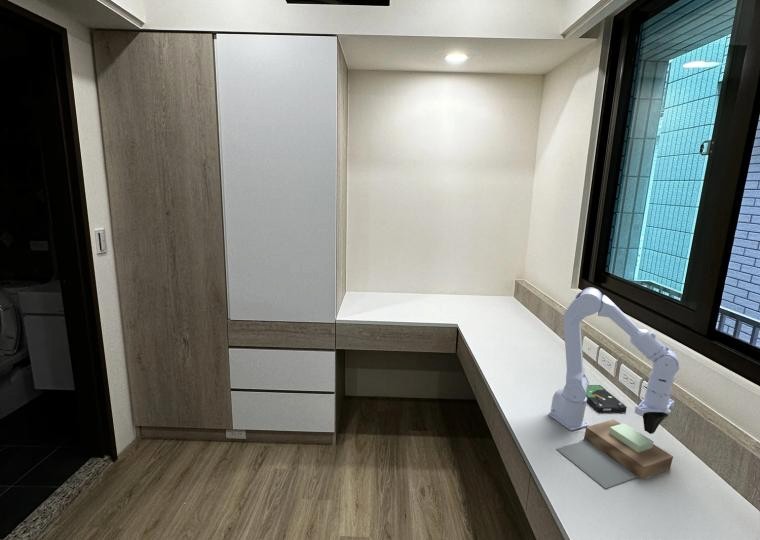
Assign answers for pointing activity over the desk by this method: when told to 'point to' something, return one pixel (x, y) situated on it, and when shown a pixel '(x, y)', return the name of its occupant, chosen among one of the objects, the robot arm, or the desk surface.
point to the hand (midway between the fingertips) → (648, 431)
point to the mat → (596, 464)
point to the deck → (628, 451)
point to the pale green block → (631, 437)
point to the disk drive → (603, 400)
